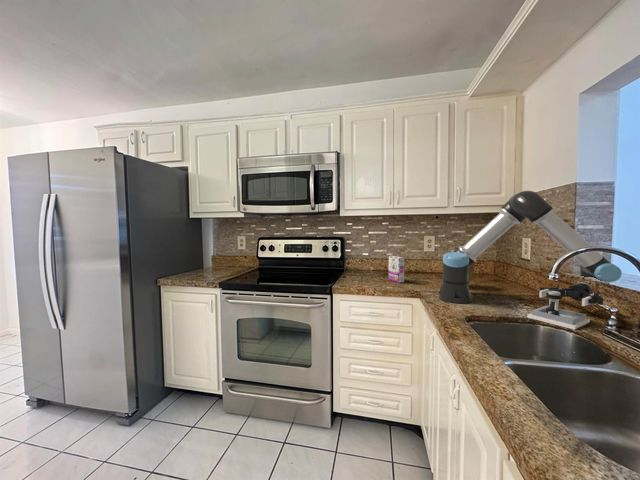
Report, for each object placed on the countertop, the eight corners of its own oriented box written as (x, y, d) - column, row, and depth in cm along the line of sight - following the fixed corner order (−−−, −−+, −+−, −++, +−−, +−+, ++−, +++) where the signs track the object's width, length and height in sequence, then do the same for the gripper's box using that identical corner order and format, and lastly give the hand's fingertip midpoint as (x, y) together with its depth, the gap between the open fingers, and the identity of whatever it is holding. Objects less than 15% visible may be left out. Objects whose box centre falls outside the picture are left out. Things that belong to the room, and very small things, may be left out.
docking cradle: (527, 317, 113) (527, 310, 113) (543, 311, 121) (544, 304, 120) (574, 329, 100) (575, 321, 100) (589, 322, 108) (590, 314, 108)
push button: (538, 312, 115) (540, 289, 114) (552, 313, 115) (553, 289, 114) (551, 318, 109) (552, 293, 108) (565, 318, 108) (566, 293, 108)
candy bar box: (404, 282, 178) (405, 257, 177) (398, 283, 176) (399, 257, 175) (393, 279, 188) (394, 255, 187) (387, 279, 187) (388, 255, 185)
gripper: (622, 307, 110) (603, 316, 99) (546, 293, 131) (524, 299, 121) (623, 288, 109) (604, 296, 99) (547, 277, 131) (525, 282, 120)
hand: (560, 298), depth 110 cm, fingers open, 13 cm apart
